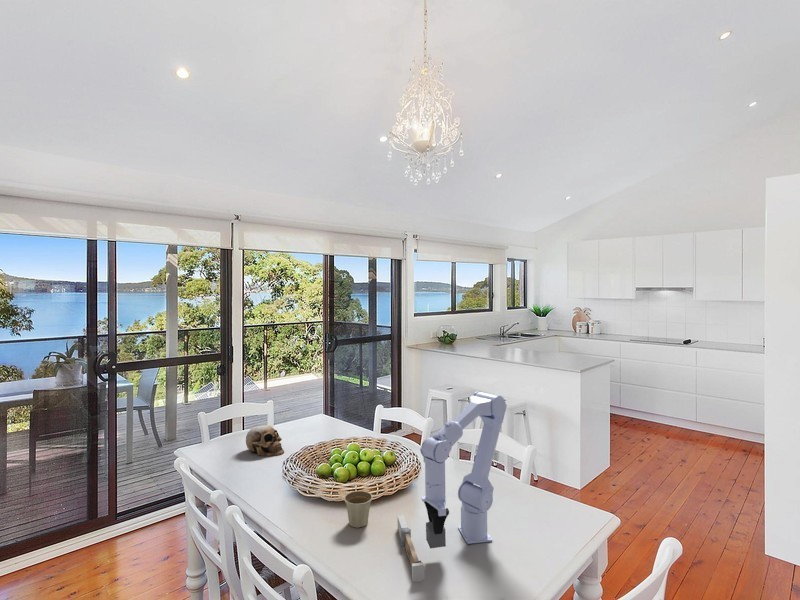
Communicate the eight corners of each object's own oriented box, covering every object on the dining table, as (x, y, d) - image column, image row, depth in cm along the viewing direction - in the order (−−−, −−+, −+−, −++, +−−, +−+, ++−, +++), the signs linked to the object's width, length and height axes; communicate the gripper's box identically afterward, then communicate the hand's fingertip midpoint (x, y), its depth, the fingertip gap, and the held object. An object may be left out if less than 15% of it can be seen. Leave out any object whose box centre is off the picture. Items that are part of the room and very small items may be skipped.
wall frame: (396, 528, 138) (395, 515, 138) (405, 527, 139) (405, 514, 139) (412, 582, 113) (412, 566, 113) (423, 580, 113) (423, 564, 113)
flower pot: (373, 515, 147) (373, 490, 147) (372, 530, 137) (372, 503, 137) (345, 516, 147) (345, 490, 146) (343, 531, 137) (342, 504, 137)
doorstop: (426, 539, 125) (425, 522, 124) (441, 537, 125) (440, 520, 125) (430, 548, 120) (429, 530, 120) (445, 546, 121) (445, 528, 121)
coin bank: (284, 454, 203) (280, 426, 203) (246, 462, 199) (242, 434, 198) (284, 444, 218) (280, 418, 218) (248, 452, 214) (245, 425, 214)
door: (405, 547, 128) (405, 534, 128) (412, 546, 128) (412, 533, 128) (414, 576, 114) (414, 562, 114) (422, 575, 115) (422, 561, 115)
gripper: (415, 472, 129) (416, 517, 129) (427, 494, 115) (428, 544, 115) (438, 470, 130) (439, 514, 130) (453, 491, 116) (453, 541, 116)
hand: (435, 528), depth 123 cm, fingers closed on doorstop, 4 cm apart
